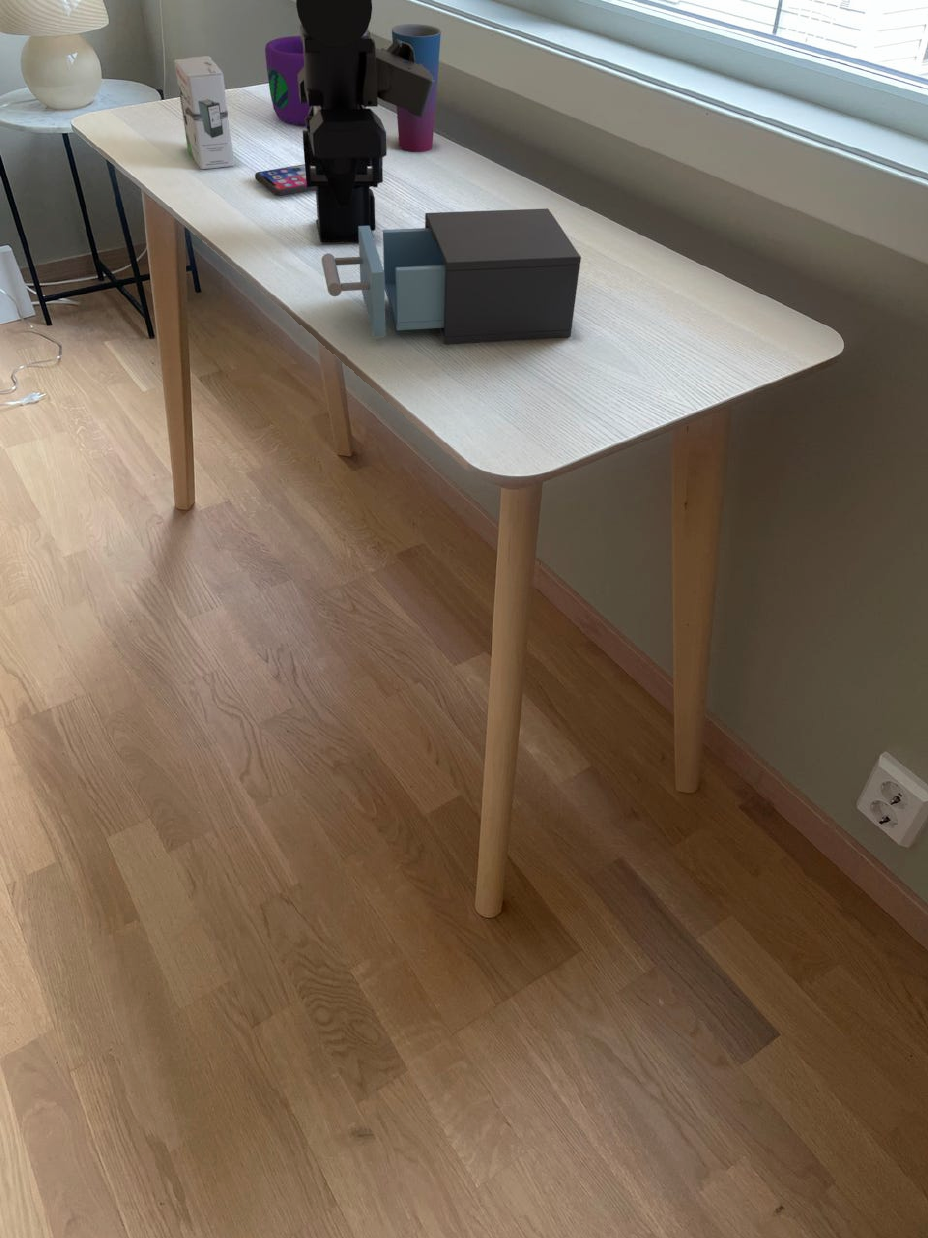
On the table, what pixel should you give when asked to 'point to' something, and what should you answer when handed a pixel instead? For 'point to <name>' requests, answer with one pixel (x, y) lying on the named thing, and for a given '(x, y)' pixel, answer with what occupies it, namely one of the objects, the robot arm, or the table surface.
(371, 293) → the light blue drawer
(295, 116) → the mug
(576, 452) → the table surface
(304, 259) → the table surface
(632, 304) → the table surface
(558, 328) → the dark grey drawer cabinet
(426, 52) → the cup
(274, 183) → the smartphone
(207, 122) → the ink box
